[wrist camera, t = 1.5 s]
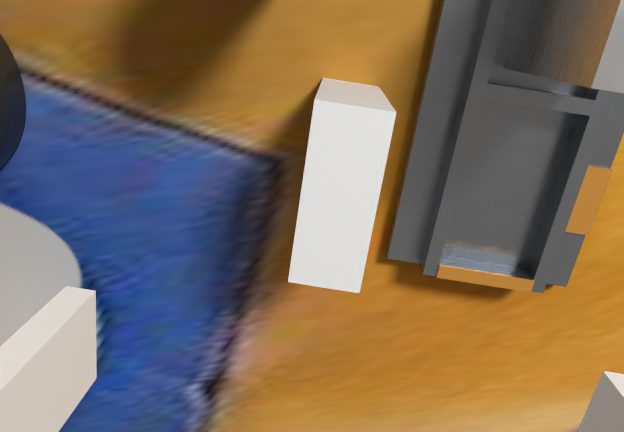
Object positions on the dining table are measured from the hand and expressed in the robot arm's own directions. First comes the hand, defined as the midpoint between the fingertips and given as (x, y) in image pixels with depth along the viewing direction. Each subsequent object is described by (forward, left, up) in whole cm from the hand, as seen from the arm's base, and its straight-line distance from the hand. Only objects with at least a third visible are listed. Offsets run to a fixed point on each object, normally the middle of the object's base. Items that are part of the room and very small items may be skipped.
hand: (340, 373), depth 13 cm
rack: (+12, +6, -26) cm, 29 cm away
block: (0, 0, -26) cm, 26 cm away
